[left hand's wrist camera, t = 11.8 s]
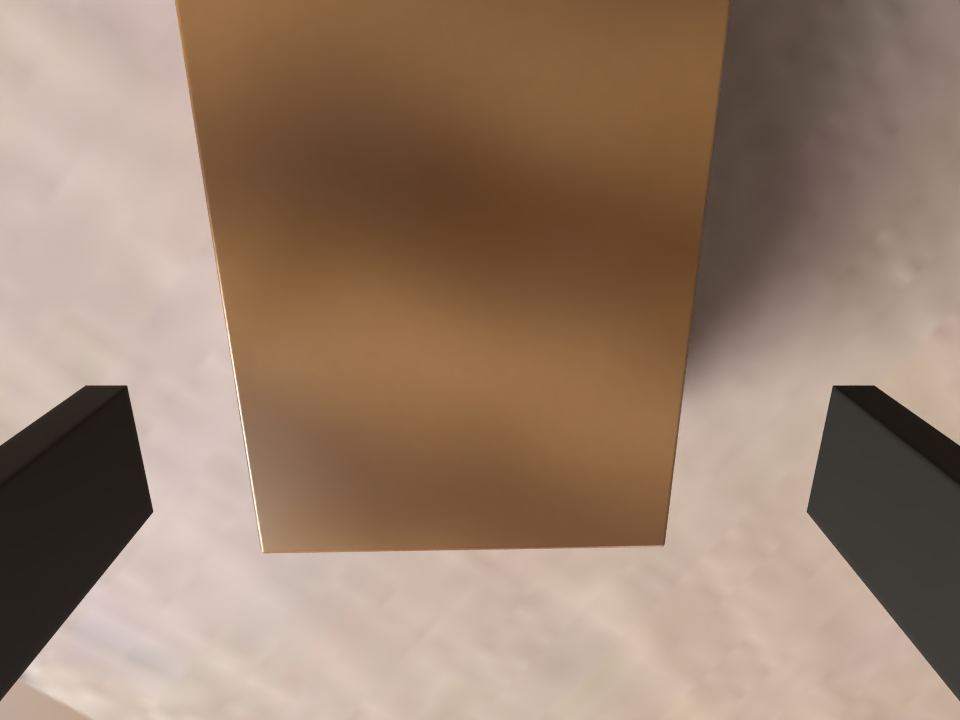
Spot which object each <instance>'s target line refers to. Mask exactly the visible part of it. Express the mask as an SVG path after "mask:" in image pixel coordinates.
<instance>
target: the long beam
mask: <svg viewBox="0 0 960 720" xmlns="http://www.w3.org/2000/svg"><path fill="white" fill-rule="evenodd" d="M175 4H176V10H177V16H178V23H179V29H180V35H181V42H182V48H183V55H184V61H185V67H186V74H187V80H188V87H189V93H190V99H191V106H192V112H193V119H194V125H195V131H196V138H197V144H198V151H199V157H200V163H201V170H202V176H203V183H204V189H205V195H206V202H207V208H208V215H209V221H210V227H211V234H212V240H213V247H214V253H215V259H216V266H217V272H218V278H219V285H220V291H221V298H222V304H223V310H224V317H225V323H226V330H227V336H228V342H229V349H230V355H231V362H232V368H233V374H234V381H235V387H236V394H237V400H238V406H239V413H240V419H241V426H242V432H243V438H244V445H245V451H246V458H247V464H248V470H249V477H250V483H251V490H252V496H253V502H254V509H255V515H256V521H257V528H258V534H259V541H260V547H261V551H262V553H308V552H369V551H429V550H490V549H551V548H611V547H662V546H664V544H665V537H666V529H667V521H668V513H669V504H670V496H671V488H672V480H673V472H674V463H675V455H676V447H677V439H678V431H679V423H680V414H681V406H682V398H683V390H684V382H685V373H686V365H687V357H688V349H689V341H690V332H691V324H692V316H693V308H694V300H695V292H696V283H697V275H698V267H699V259H700V251H701V242H702V234H703V226H704V218H705V210H706V201H707V193H708V185H709V177H710V169H711V161H712V152H713V144H714V136H715V128H716V120H717V111H718V103H719V95H720V87H721V79H722V70H723V62H724V54H725V46H726V38H727V30H728V21H729V13H730V5H731V0H175Z"/></svg>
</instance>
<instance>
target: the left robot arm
mask: <svg viewBox="0 0 960 720" xmlns="http://www.w3.org/2000/svg"><path fill="white" fill-rule="evenodd" d="M152 513H153V508H152V503H151V499H150V494H149V489H148V484H147V479H146V475H145V470H144V465H143V460H142V455H141V450H140V446H139V441H138V436H137V431H136V426H135V422H134V417H133V412H132V407H131V402H130V398H129V393H128V388H127V386H85V387H83V388H82V389H80V390H79V391H77V392H76V393H75V394H73V395H72V396H70V397H69V398H67V399H66V400H65V401H63V402H62V403H60V404H59V405H58V406H56V407H55V408H53V409H52V410H50V411H49V412H48V413H46V414H45V415H43V416H42V417H40V418H39V419H38V420H36V421H35V422H33V423H32V424H31V425H29V426H28V427H26V428H25V429H23V430H22V431H21V432H19V433H18V434H16V435H15V436H14V437H12V438H11V439H9V440H8V441H6V442H5V443H4V444H2V445H1V446H0V701H1V699H2V698H3V697H4V696H5V695H6V693H7V692H8V691H9V690H10V688H11V687H12V686H13V685H14V683H15V682H16V681H17V680H18V679H19V677H20V676H21V675H22V674H23V672H24V671H25V670H26V669H27V667H28V666H29V665H30V664H31V662H32V661H33V660H34V659H35V657H36V656H37V655H38V654H39V653H40V651H41V650H42V649H43V648H44V646H45V645H46V644H47V643H48V641H49V640H50V639H51V638H52V636H53V635H54V634H55V633H56V632H57V630H58V629H59V628H60V627H61V625H62V624H63V623H64V622H65V620H66V619H67V618H68V617H69V615H70V614H71V613H72V612H73V611H74V609H75V608H76V607H77V606H78V604H79V603H80V602H81V601H82V599H83V598H84V597H85V596H86V594H87V593H88V592H89V591H90V589H91V588H92V587H93V586H94V585H95V583H96V582H97V581H98V580H99V578H100V577H101V576H102V575H103V573H104V572H105V571H106V570H107V568H108V567H109V566H110V565H111V564H112V562H113V561H114V560H115V559H116V557H117V556H118V555H119V554H120V552H121V551H122V550H123V549H124V547H125V546H126V545H127V544H128V543H129V541H130V540H131V539H132V538H133V536H134V535H135V534H136V533H137V531H138V530H139V529H140V528H141V526H142V525H143V524H144V523H145V522H146V520H147V519H148V518H149V517H150V515H151V514H152ZM807 513H808V514H809V515H810V517H811V518H812V519H813V520H814V522H815V523H816V524H817V525H818V526H819V528H820V529H821V530H822V531H823V533H824V534H825V535H826V536H827V538H828V539H829V540H830V541H831V543H832V544H833V545H834V546H835V547H836V549H837V550H838V551H839V552H840V554H841V555H842V556H843V557H844V559H845V560H846V561H847V562H848V564H849V565H850V566H851V567H852V568H853V570H854V571H855V572H856V573H857V575H858V576H859V577H860V578H861V580H862V581H863V582H864V583H865V585H866V586H867V587H868V588H869V589H870V591H871V592H872V593H873V594H874V596H875V597H876V598H877V599H878V601H879V602H880V603H881V604H882V606H883V607H884V608H885V609H886V611H887V612H888V613H889V614H890V615H891V617H892V618H893V619H894V620H895V622H896V623H897V624H898V625H899V627H900V628H901V629H902V630H903V632H904V633H905V634H906V635H907V636H908V638H909V639H910V640H911V641H912V643H913V644H914V645H915V646H916V648H917V649H918V650H919V651H920V653H921V654H922V655H923V656H924V657H925V659H926V660H927V661H928V662H929V664H930V665H931V666H932V667H933V669H934V670H935V671H936V672H937V674H938V675H939V676H940V677H941V679H942V680H943V681H944V682H945V683H946V685H947V686H948V687H949V688H950V690H951V691H952V692H953V693H954V695H955V696H956V697H957V698H958V700H959V701H960V446H959V445H958V444H956V443H955V442H954V441H952V440H951V439H949V438H948V437H946V436H945V435H944V434H942V433H941V432H939V431H938V430H937V429H935V428H934V427H932V426H931V425H929V424H928V423H927V422H925V421H924V420H922V419H921V418H920V417H918V416H917V415H915V414H914V413H912V412H911V411H910V410H908V409H907V408H905V407H904V406H902V405H901V404H900V403H898V402H897V401H895V400H894V399H893V398H891V397H890V396H888V395H887V394H885V393H884V392H883V391H881V390H880V389H878V388H877V387H875V386H833V388H832V393H831V398H830V402H829V407H828V412H827V417H826V422H825V426H824V431H823V436H822V441H821V446H820V450H819V455H818V460H817V465H816V470H815V475H814V479H813V484H812V489H811V494H810V499H809V503H808V508H807Z"/></svg>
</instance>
